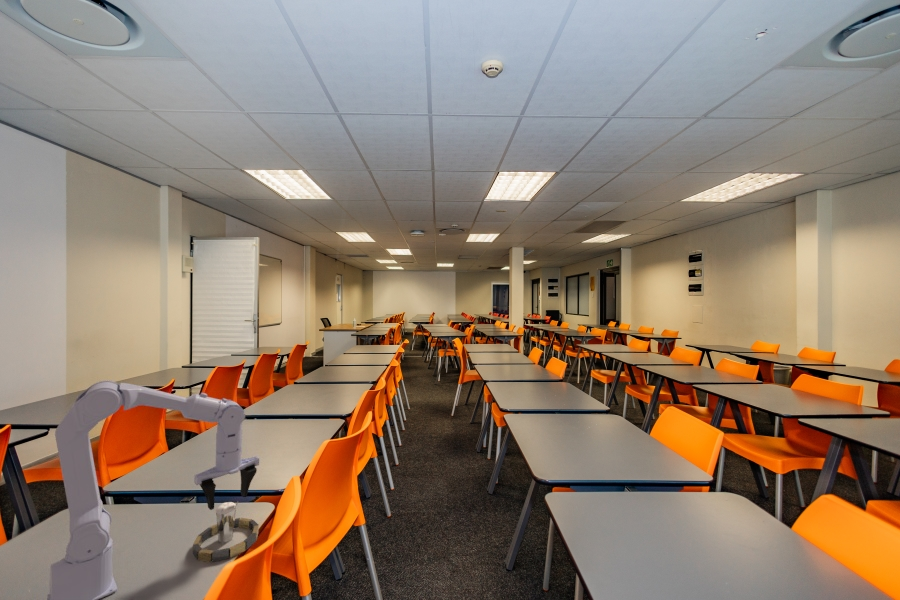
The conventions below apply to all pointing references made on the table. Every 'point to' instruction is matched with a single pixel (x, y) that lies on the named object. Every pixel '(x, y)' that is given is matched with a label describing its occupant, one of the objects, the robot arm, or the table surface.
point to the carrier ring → (228, 552)
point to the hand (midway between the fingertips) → (227, 501)
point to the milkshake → (225, 521)
